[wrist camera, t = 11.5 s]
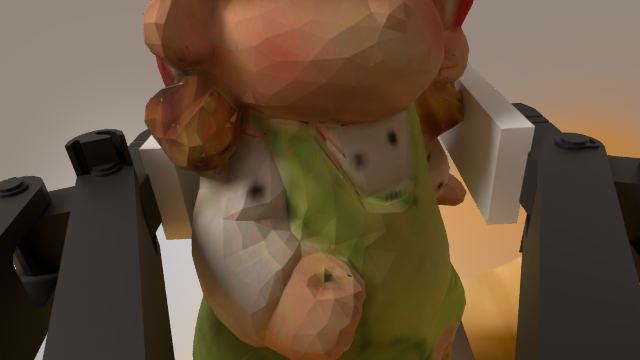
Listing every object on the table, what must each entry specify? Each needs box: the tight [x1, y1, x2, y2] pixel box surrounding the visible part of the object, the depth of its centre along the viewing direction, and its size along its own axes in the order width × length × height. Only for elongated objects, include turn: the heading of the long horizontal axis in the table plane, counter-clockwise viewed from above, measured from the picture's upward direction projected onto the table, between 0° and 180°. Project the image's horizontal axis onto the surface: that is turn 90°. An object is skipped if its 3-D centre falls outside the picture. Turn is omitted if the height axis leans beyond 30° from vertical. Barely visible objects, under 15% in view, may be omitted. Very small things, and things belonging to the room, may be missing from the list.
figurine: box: [143, 0, 473, 360], centre depth 13 cm, size 11×9×20 cm
